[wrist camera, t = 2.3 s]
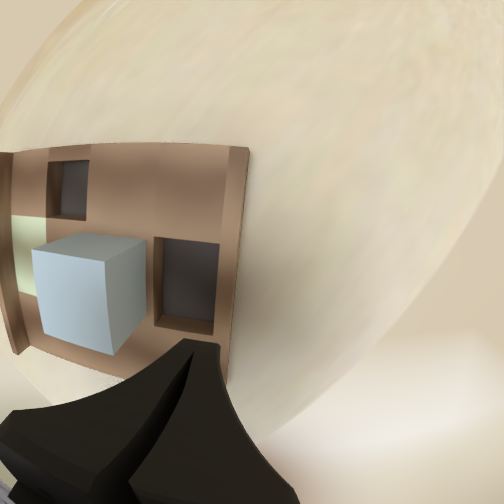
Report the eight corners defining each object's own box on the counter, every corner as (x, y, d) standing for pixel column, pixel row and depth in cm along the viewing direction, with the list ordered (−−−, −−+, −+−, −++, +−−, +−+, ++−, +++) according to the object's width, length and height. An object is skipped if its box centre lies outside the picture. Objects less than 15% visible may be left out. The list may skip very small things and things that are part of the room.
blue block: (146, 315, 17) (113, 355, 12) (85, 301, 17) (44, 333, 12) (145, 239, 16) (104, 261, 11) (80, 232, 16) (31, 249, 11)
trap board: (226, 382, 21) (220, 417, 17) (36, 333, 21) (13, 352, 17) (249, 151, 17) (246, 142, 13) (23, 154, 17) (-9, 153, 13)
